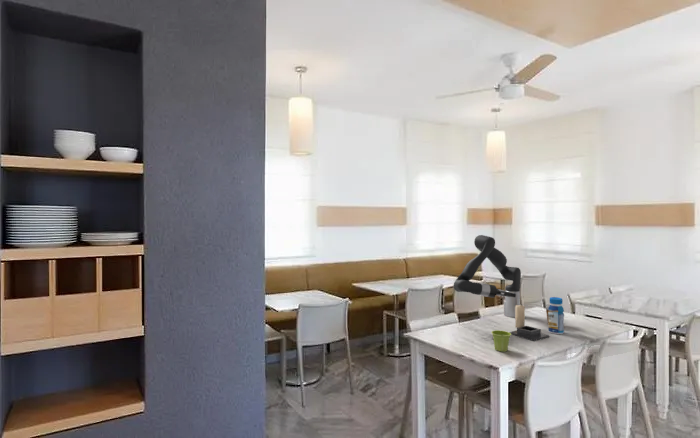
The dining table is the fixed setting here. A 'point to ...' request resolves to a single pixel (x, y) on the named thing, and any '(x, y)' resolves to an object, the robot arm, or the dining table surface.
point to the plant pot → (501, 340)
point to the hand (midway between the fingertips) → (511, 294)
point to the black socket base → (529, 333)
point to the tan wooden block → (519, 316)
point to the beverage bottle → (556, 316)
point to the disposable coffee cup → (547, 310)
